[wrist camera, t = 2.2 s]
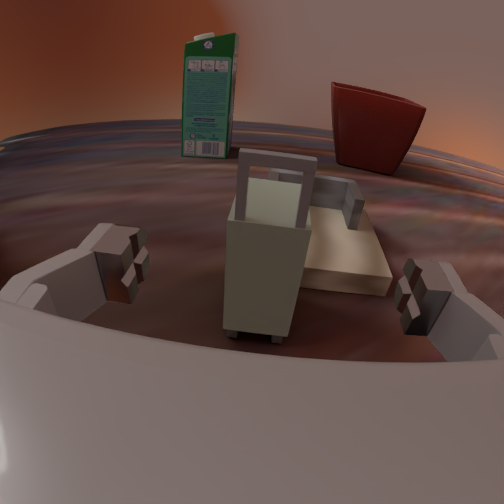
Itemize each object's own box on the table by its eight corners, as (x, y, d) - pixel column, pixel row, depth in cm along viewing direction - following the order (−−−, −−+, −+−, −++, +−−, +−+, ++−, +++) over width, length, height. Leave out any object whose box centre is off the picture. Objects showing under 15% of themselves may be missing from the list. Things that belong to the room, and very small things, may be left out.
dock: (230, 278, 32) (234, 221, 28) (247, 209, 44) (251, 164, 41) (385, 296, 32) (406, 244, 28) (360, 224, 44) (371, 182, 40)
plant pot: (321, 143, 78) (331, 80, 69) (392, 158, 76) (405, 97, 66) (320, 166, 63) (333, 85, 53) (409, 185, 61) (428, 109, 51)
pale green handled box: (222, 341, 25) (231, 151, 17) (234, 286, 31) (246, 124, 22) (284, 349, 25) (324, 162, 17) (286, 292, 31) (314, 132, 22)
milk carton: (190, 143, 68) (195, 34, 54) (231, 146, 69) (239, 35, 54) (181, 156, 61) (185, 31, 47) (226, 159, 61) (235, 32, 47)
